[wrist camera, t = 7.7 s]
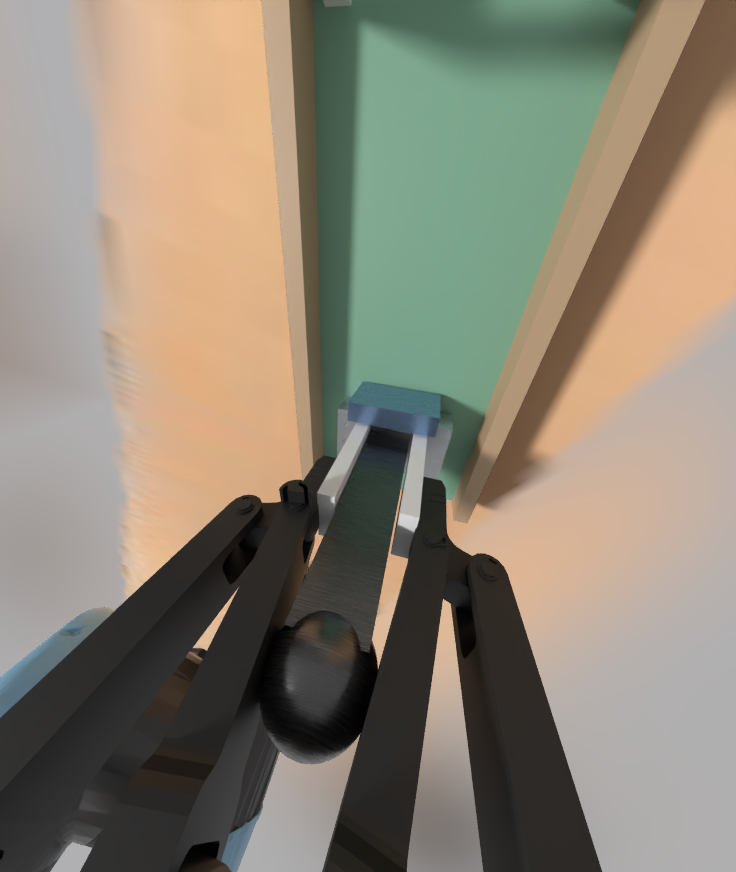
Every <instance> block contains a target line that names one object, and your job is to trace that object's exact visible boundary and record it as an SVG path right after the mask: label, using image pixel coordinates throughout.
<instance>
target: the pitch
mask: <svg viewBox="0 0 736 872" xmlns="http://www.w3.org/2000/svg"><path fill="white" fill-rule="evenodd" d="M704 2H705V0H351V6H336V7H325V5H324V3H323V0H261V4H262V15H263V27H264V39H265V50H266V62H267V74H268V85H269V97H270V109H271V121H272V132H273V144H274V156H275V167H276V179H277V191H278V202H279V214H280V226H281V237H282V249H283V261H284V272H285V284H286V296H287V307H288V319H289V331H290V342H291V354H292V366H293V377H294V389H295V401H296V412H297V424H298V436H299V448H300V459H301V471H302V481H303V480H304V479H305V477H306V476H307V474H308V473H309V471H310V470H311V468H312V467H313V465H314V464H315V462H316V461H317V460H318V459H319V458H321V457H322V456H324V455H325V456H329V457H334V458H337V429H338V408H339V406H340V405H341V404H342V402H343V401H344V400H345V398H346V397H347V396H353V394H354V393H355V392H356V390H357V389H358V387H359V386H360V385H361V383H362V382H369V383H375V384H381V385H387V386H393V387H399V388H405V389H411V390H417V391H423V392H429V393H435V394H440V412H442V413H448V414H452V424H453V431H452V435H451V438H450V441H449V444H448V448H447V451H446V454H445V457H444V460H443V464H442V467H441V470H440V473H439V477H438V480H442V482H443V484H444V486H445V488H446V499H449V500H453V520H455V521H460V522H464V523H468V521H469V519H470V516H471V514H472V512H473V510H474V508H475V505H476V503H477V501H478V499H479V497H480V494H481V492H482V490H483V488H484V486H485V483H486V481H487V479H488V477H489V475H490V472H491V470H492V468H493V466H494V464H495V461H496V459H497V457H498V455H499V453H500V450H501V448H502V446H503V444H504V442H505V440H506V437H507V435H508V433H509V431H510V429H511V426H512V424H513V422H514V420H515V418H516V415H517V413H518V411H519V409H520V407H521V404H522V402H523V400H524V398H525V396H526V393H527V391H528V389H529V387H530V385H531V382H532V380H533V378H534V376H535V374H536V371H537V369H538V367H539V365H540V363H541V360H542V358H543V356H544V354H545V352H546V349H547V347H548V345H549V343H550V341H551V338H552V336H553V334H554V332H555V330H556V327H557V325H558V323H559V321H560V319H561V316H562V314H563V312H564V310H565V308H566V305H567V303H568V301H569V299H570V297H571V294H572V292H573V290H574V288H575V286H576V283H577V281H578V279H579V277H580V275H581V273H582V270H583V268H584V266H585V264H586V262H587V259H588V257H589V255H590V253H591V251H592V248H593V246H594V244H595V242H596V240H597V237H598V235H599V233H600V231H601V229H602V226H603V224H604V222H605V220H606V218H607V215H608V213H609V211H610V209H611V207H612V204H613V202H614V200H615V198H616V196H617V193H618V191H619V189H620V187H621V185H622V182H623V180H624V178H625V176H626V174H627V171H628V169H629V167H630V165H631V163H632V160H633V158H634V156H635V154H636V152H637V149H638V147H639V145H640V143H641V141H642V138H643V136H644V134H645V132H646V130H647V127H648V125H649V123H650V121H651V119H652V117H653V114H654V112H655V110H656V108H657V106H658V103H659V101H660V99H661V97H662V95H663V92H664V90H665V88H666V86H667V84H668V81H669V79H670V77H671V75H672V73H673V70H674V68H675V66H676V64H677V62H678V59H679V57H680V55H681V53H682V51H683V48H684V46H685V44H686V42H687V40H688V37H689V35H690V33H691V31H692V29H693V26H694V24H695V22H696V20H697V18H698V15H699V13H700V11H701V9H702V7H703V4H704ZM404 479H405V474H404V473H403V478H402V484H401V489H403V485H404Z"/></svg>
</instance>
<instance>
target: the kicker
mask: <svg viewBox="0 0 736 872" xmlns="http://www.w3.org/2000/svg"><path fill="white" fill-rule="evenodd" d="M356 423H362V424H367V425H371V431H370V434H369V436H368V438H367V440H366V443H365V445H364V447H363V449H362V452H361V454H360V456H359V458H358V461H357V463H356V465H355V467H354V470H353V472H352V474H351V476H350V479H349V481H348V483H347V485H346V488H345V490H344V492H343V494H342V497H341V499H340V501H339V503H338V505H337V508H336V510H335V512H334V514H333V517H332V519H331V521H330V523H329V526H328V528H327V530H326V532H325V535H324V537H323V539H322V541H321V544H320V546H319V548H318V550H317V553H316V555H315V557H314V559H313V562H312V564H311V566H310V568H309V571H308V573H307V575H306V577H305V580H304V582H303V584H302V586H301V589H300V591H299V593H298V595H297V597H296V600H295V602H294V604H293V606H292V609H291V611H290V613H289V615H288V618H287V620H286V622H285V624H284V626H283V627H282V628H281V629H280V631H279V632H278V634H277V635H276V637H275V638H274V640H273V643H272V645H271V647H270V650H269V653H268V655H267V659H266V662H265V665H264V669H263V673H262V677H261V682H260V688H259V704H260V712H261V716H262V720H263V724H264V726H265V729H266V731H267V734H268V736H269V737H270V739H271V741H272V742H273V744H274V745H275V746H276V747H277V749H278V750H279V751H280V752H282V753H283V754H284V755H285V756H286V757H288V758H290V759H292V760H294V761H296V762H299V763H303V764H318V763H323V762H326V761H329V760H331V759H333V758H335V757H337V756H339V755H340V754H341V753H343V752H344V751H345V750H347V748H349V746H351V744H352V743H353V742H354V741H355V740H356V739H357V737H358V736H359V734H360V733H361V731H362V728H363V725H364V721H365V718H366V714H367V710H368V707H369V703H370V700H371V696H372V692H373V689H374V685H375V681H376V678H377V674H378V666H377V657H376V652H375V648H374V645H373V642H372V636H373V630H374V625H375V620H376V615H377V609H378V604H379V599H380V594H381V588H382V583H383V578H384V573H385V568H386V562H387V557H388V552H389V547H390V541H391V536H392V531H393V526H394V520H395V515H396V510H397V505H398V499H399V494H400V489H401V484H402V478H403V473H404V474H406V468H407V463H408V458H409V454H410V449H411V444H412V439H413V435H414V434H419V435H424V436H427V444H426V454H425V465H424V477H428V478H433V479H437V480H438V477H439V473H440V470H441V467H442V464H443V460H444V457H445V454H446V451H447V448H448V444H449V441H450V438H451V435H452V431H453V424H452V414H448V413H442V412H440V394H435V393H429V392H423V391H417V390H411V389H405V388H399V387H393V386H387V385H381V384H375V383H369V382H362V383H361V385H360V386H359V387H358V389H357V390H356V392H355V393H354V394H353V396H347V397H346V398H345V400H344V401H343V402H342V404H341V405H340V406H339V408H338V429H337V457H338V455H339V453H340V451H341V449H342V448H343V446H344V444H345V442H346V441H347V439H348V437H349V435H350V433H351V432H352V430H353V428H354V426H355V425H356Z"/></svg>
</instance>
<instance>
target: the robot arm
mask: <svg viewBox="0 0 736 872" xmlns="http://www.w3.org/2000/svg"><path fill="white" fill-rule="evenodd" d="M370 431H371V425H367V424H362V423H356V425H355V426H354V428H353V430H352V432H351V433H350V435H349V437H348V439H347V441H346V442H345V444H344V446H343V448H342V449H341V451H340V453H339V455H338V457H337V458H334V457H329V456H325V455H324V456H322V457H321V458H319V459H318V460H317V461H316V462H315V464H314V465H313V467H312V468H311V470H310V471H309V473H308V474H307V476H306V477H305V479H304V480H303V481H302V480H292V481H288V482H287V483H285V484H283V485H282V486H281V487H280V489H279V491H280V497H281V502H277V503H262V502H261V500H260V498H258V497H257V496H254V495H244V496H241V497H239V498H236V499H235V500H234V501H232V502H231V503H230V504H229V505H228V506H227V507H226V508H225V509H224V510H222V511H221V512H220V513H219V514H218V515H217V516H216V517H215V518H214V519H213V520H212V521H211V522H210V523H209V524H207V525H206V526H205V527H204V528H203V529H202V530H201V531H200V532H199V533H198V534H197V535H196V536H195V537H193V538H192V539H191V540H190V541H189V542H188V543H187V544H186V545H185V546H184V547H183V548H182V549H181V550H180V551H178V552H177V553H176V554H175V555H174V556H173V557H172V558H171V559H170V560H169V561H168V562H167V563H166V564H165V565H163V566H162V567H161V568H160V569H159V570H158V571H157V572H156V573H155V574H154V575H153V576H152V577H151V578H150V579H148V580H147V581H146V582H145V583H144V584H143V585H142V586H141V587H140V588H139V589H138V590H137V591H136V592H135V593H133V594H132V595H131V596H130V597H129V598H128V599H127V600H126V601H125V602H124V603H123V604H122V605H121V606H119V607H118V608H117V609H116V610H115V611H114V610H112V609H110V608H105V607H100V608H94V609H91V610H88V611H86V612H84V613H82V614H80V615H79V616H77V617H76V618H74V619H73V620H71V621H70V622H69V623H68V624H66V625H65V626H64V627H63V628H61V629H60V630H59V631H57V632H56V633H55V634H53V635H52V636H51V637H50V638H48V639H47V640H46V641H45V642H43V643H42V644H41V645H40V646H38V647H37V648H36V649H35V650H33V651H32V652H31V653H30V654H29V655H27V656H26V657H24V658H23V659H22V660H21V661H19V662H18V663H17V664H16V665H14V666H13V667H12V668H11V669H9V670H8V671H7V672H6V673H4V674H3V675H2V676H1V677H0V872H50V871H51V869H52V868H53V866H54V865H55V864H56V862H57V860H58V859H59V858H60V856H61V855H62V853H63V852H64V851H65V849H66V848H67V846H68V845H70V844H71V843H72V842H74V843H77V844H80V845H86V846H88V847H92V850H91V852H90V854H89V856H88V858H87V860H86V862H85V863H84V865H83V867H82V869H81V871H80V872H237V870H238V868H239V865H240V863H241V860H242V858H243V855H244V853H245V850H246V847H247V845H248V842H249V840H250V837H251V834H252V832H253V829H254V827H255V824H256V822H257V820H258V819H259V816H260V814H261V811H262V808H263V800H264V797H265V794H266V791H267V788H268V785H269V782H270V779H271V776H272V773H273V770H274V767H275V764H276V761H277V758H278V755H279V752H280V751H279V750H278V749H277V747H276V746H275V745H274V744H273V742H272V741H271V739H270V737H269V736H268V734H267V731H266V729H265V726H264V724H263V720H262V716H261V712H260V704H259V688H260V682H261V677H262V673H263V669H264V665H265V662H266V659H267V655H268V653H269V650H270V647H271V645H272V643H273V640H274V638H275V637H276V635H277V634H278V632H279V631H280V629H281V628H282V627H283V626H284V624H285V622H286V620H287V618H288V615H289V613H290V611H291V609H292V606H293V604H294V602H295V600H296V597H297V595H298V593H299V591H300V589H301V586H302V584H303V582H304V580H305V577H304V576H305V572H306V569H307V566H308V563H309V559H310V556H311V553H312V550H313V546H314V541H315V534H316V532H317V530H318V528H319V535H323V536H324V535H325V532H326V530H327V528H328V526H329V523H330V521H331V519H332V517H333V514H334V512H335V510H336V508H337V505H338V503H339V501H340V499H341V497H342V494H343V492H344V490H345V488H346V485H347V483H348V481H349V479H350V476H351V474H352V472H353V470H354V467H355V465H356V463H357V461H358V458H359V456H360V454H361V452H362V449H363V447H364V445H365V443H366V440H367V438H368V436H369V434H370ZM426 444H427V436H424V435H419V434H414V435H413V439H412V444H411V449H410V454H409V458H408V463H407V468H406V474H405V479H404V485H403V490H402V496H401V501H400V507H399V512H398V518H397V523H396V529H395V534H394V540H393V545H392V550H391V554H393V555H397V556H401V557H404V558H408V564H407V567H406V571H405V574H404V578H403V582H402V585H401V589H400V593H399V596H398V600H397V603H396V607H395V611H394V614H393V618H392V622H391V625H390V629H389V632H388V636H387V640H386V644H385V647H384V651H383V654H382V658H381V661H380V665H379V669H378V674H377V678H376V681H375V685H374V689H373V692H372V696H371V700H370V703H369V707H368V710H367V714H366V718H365V721H364V725H363V728H362V731H361V734H360V738H359V742H358V745H357V748H356V752H355V756H354V760H353V764H352V767H351V770H350V774H349V778H348V781H347V785H346V788H345V792H344V796H343V799H342V803H341V806H340V810H339V814H338V817H337V821H336V824H335V828H334V831H333V835H332V839H331V842H330V846H329V849H328V853H327V857H326V860H325V864H324V868H323V871H322V872H407V858H408V850H409V842H410V835H411V828H412V820H413V813H414V806H415V798H416V791H417V784H418V777H419V769H420V762H421V755H422V748H423V740H424V732H425V726H426V718H427V710H428V704H429V697H430V689H431V682H432V675H433V667H434V660H435V653H436V644H437V638H438V631H439V624H440V616H441V609H442V601H443V599H444V600H446V601H448V602H449V603H451V609H452V617H453V625H454V634H455V642H456V650H457V658H458V667H459V675H460V682H461V690H462V699H463V708H464V716H465V723H466V732H467V740H468V749H469V757H470V764H471V772H472V781H473V789H474V797H475V806H476V814H477V822H478V830H479V839H480V847H481V855H482V863H483V871H484V872H602V870H601V867H600V864H599V861H598V857H597V854H596V851H595V848H594V845H593V842H592V838H591V835H590V833H589V829H588V826H587V823H586V820H585V816H584V813H583V810H582V807H581V804H580V801H579V797H578V794H577V791H576V788H575V785H574V782H573V779H572V776H571V772H570V769H569V766H568V763H567V760H566V757H565V754H564V751H563V747H562V744H561V741H560V738H559V735H558V732H557V728H556V725H555V722H554V719H553V716H552V713H551V710H550V707H549V703H548V700H547V697H546V694H545V691H544V687H543V684H542V681H541V678H540V675H539V672H538V668H537V665H536V662H535V659H534V656H533V653H532V650H531V646H530V643H529V640H528V637H527V634H526V631H525V628H524V624H523V621H522V618H521V615H520V612H519V609H518V606H517V602H516V599H515V596H514V593H513V590H512V587H511V584H510V581H509V577H508V574H507V572H506V570H505V568H504V566H502V564H501V563H500V562H499V561H498V560H497V559H495V558H494V557H492V556H490V555H486V554H476V555H474V556H471V555H469V554H468V553H466V552H464V551H462V550H461V549H459V548H458V547H456V546H455V545H454V544H453V543H452V542H451V540H450V539H449V537H448V534H447V526H446V488H445V486H444V484H443V482H442V480H437V479H433V478H428V477H424V465H425V454H426ZM408 556H409V557H408ZM238 587H239V588H238ZM237 588H238V590H237ZM236 590H237V592H236V594H235V596H234V598H233V600H232V602H231V604H230V606H229V608H228V610H227V612H226V614H225V616H224V618H223V620H222V622H221V624H220V626H219V628H218V630H217V632H216V634H215V636H214V638H213V640H212V642H211V644H210V646H209V648H208V650H207V652H206V654H205V656H204V658H203V659H202V658H201V657H199V656H197V655H195V654H193V653H192V652H190V650H191V649H192V648H193V646H194V645H195V644H196V642H197V641H198V640H199V638H200V637H201V636H202V634H203V633H204V632H205V631H206V629H207V628H208V627H209V625H210V624H211V623H212V621H213V620H214V619H215V617H216V616H217V615H218V613H219V612H220V611H221V609H222V608H223V607H224V606H225V604H226V603H227V602H228V600H229V599H230V598H231V596H232V595H233V594H234V592H235V591H236Z"/></svg>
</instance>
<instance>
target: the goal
mask: <svg viewBox="0 0 736 872" xmlns="http://www.w3.org/2000/svg"><path fill="white" fill-rule="evenodd" d="M323 3H324V5H325V7H336V6H351V0H323Z"/></svg>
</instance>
